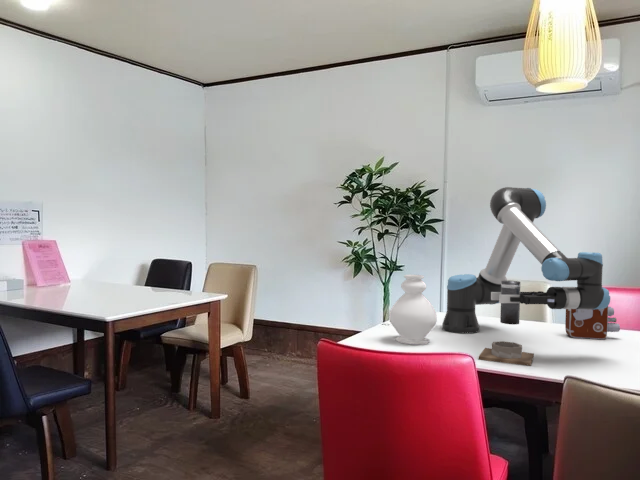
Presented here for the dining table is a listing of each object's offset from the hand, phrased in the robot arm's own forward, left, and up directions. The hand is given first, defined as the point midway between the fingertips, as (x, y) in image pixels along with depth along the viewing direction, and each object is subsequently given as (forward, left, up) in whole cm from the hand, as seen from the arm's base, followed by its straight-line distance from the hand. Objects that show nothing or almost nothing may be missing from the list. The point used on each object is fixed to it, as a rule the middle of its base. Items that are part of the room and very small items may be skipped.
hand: (495, 297), depth 171 cm
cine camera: (+31, +54, -20) cm, 66 cm away
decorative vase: (-31, +10, -20) cm, 39 cm away
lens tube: (+4, +3, -8) cm, 10 cm away
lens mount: (+4, +1, -20) cm, 20 cm away
